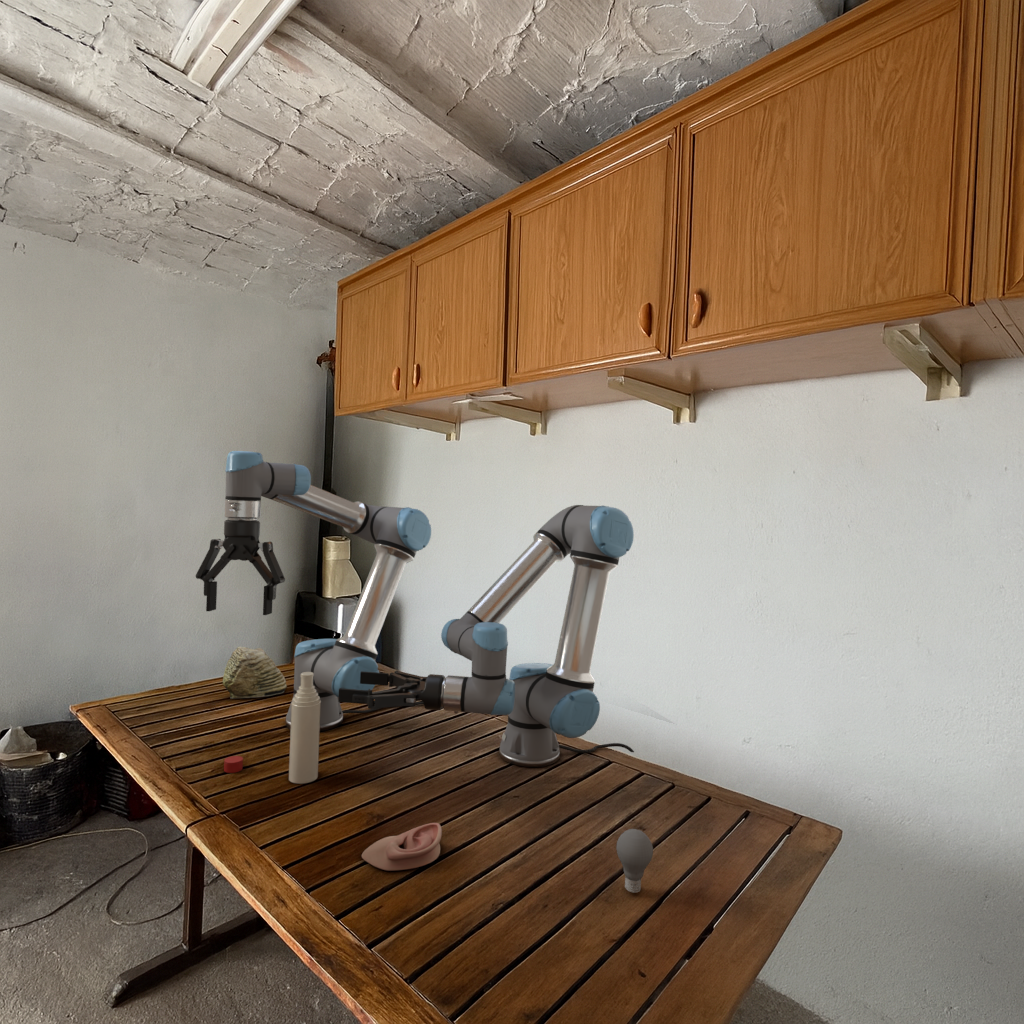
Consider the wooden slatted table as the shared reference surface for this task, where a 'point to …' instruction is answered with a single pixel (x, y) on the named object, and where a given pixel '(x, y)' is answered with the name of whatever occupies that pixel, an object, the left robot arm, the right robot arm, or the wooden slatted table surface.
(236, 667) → the fossil
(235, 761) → the cap
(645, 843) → the light bulb
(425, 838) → the anatomical model
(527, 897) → the wooden slatted table surface
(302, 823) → the wooden slatted table surface
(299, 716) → the bottle
